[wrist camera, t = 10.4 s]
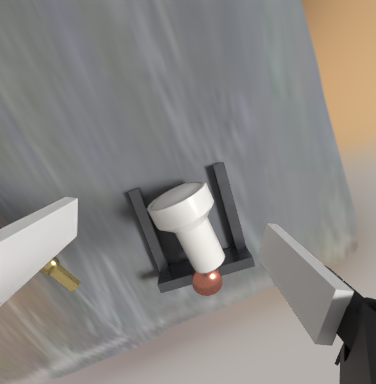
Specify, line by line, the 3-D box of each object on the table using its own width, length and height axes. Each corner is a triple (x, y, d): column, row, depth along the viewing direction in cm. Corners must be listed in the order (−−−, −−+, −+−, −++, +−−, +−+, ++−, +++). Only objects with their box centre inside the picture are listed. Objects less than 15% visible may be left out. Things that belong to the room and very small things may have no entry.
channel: (130, 190, 30) (118, 201, 24) (222, 161, 29) (231, 166, 24) (165, 281, 33) (162, 308, 28) (247, 257, 33) (260, 280, 27)
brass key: (37, 263, 32) (33, 266, 31) (48, 252, 32) (45, 254, 31) (71, 290, 33) (68, 293, 33) (82, 280, 33) (80, 283, 32)
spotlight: (205, 170, 28) (201, 188, 20) (234, 237, 31) (240, 275, 23) (155, 191, 30) (135, 215, 22) (187, 252, 33) (178, 291, 25)
